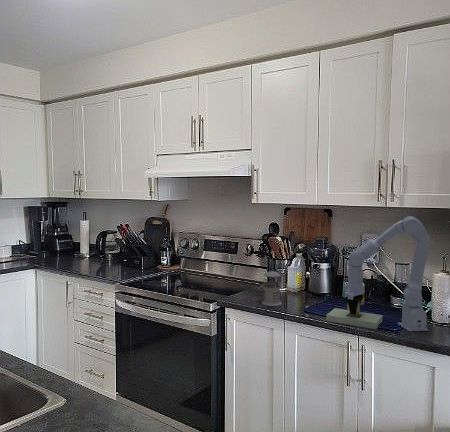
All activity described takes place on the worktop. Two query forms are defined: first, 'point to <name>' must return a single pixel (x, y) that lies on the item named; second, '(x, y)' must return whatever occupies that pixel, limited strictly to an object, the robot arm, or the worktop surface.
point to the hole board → (354, 318)
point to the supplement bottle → (363, 294)
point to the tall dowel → (356, 312)
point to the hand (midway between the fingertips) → (354, 312)
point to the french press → (272, 288)
